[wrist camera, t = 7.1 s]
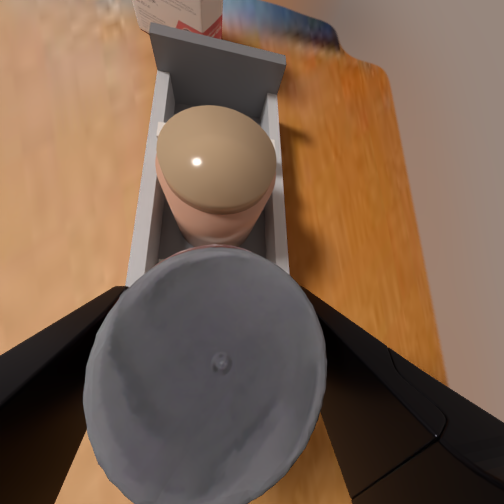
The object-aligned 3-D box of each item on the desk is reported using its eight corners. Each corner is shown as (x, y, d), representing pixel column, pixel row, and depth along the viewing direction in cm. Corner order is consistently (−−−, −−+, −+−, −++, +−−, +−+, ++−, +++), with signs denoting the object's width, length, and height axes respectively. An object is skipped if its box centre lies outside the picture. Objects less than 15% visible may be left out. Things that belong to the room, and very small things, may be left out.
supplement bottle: (268, 305, 15) (418, 303, 4) (225, 384, 13) (298, 770, 2) (203, 263, 15) (185, 147, 4) (149, 336, 13) (-170, 491, 2)
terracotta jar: (252, 255, 17) (285, 216, 10) (174, 252, 16) (140, 205, 8) (251, 189, 19) (278, 112, 11) (180, 182, 18) (157, 90, 10)
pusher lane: (280, 391, 16) (320, 440, 10) (129, 408, 13) (68, 485, 8) (266, 117, 23) (285, 55, 17) (167, 99, 21) (150, 21, 15)
